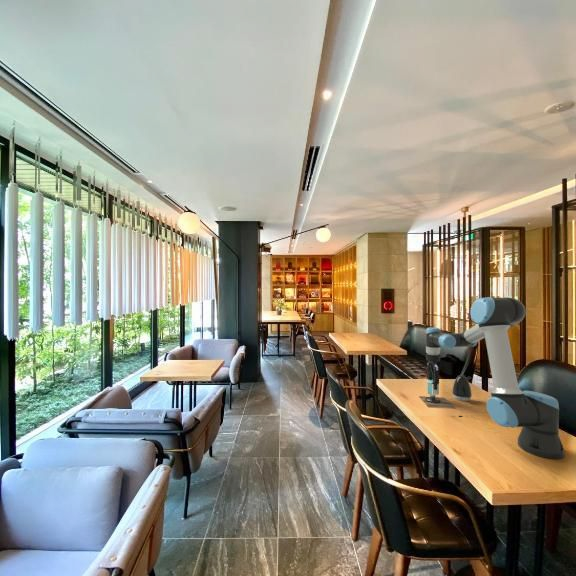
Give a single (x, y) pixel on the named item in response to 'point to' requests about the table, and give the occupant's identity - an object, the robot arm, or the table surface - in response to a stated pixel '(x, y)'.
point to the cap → (429, 387)
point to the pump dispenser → (462, 388)
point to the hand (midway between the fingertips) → (432, 392)
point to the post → (432, 399)
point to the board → (442, 404)
